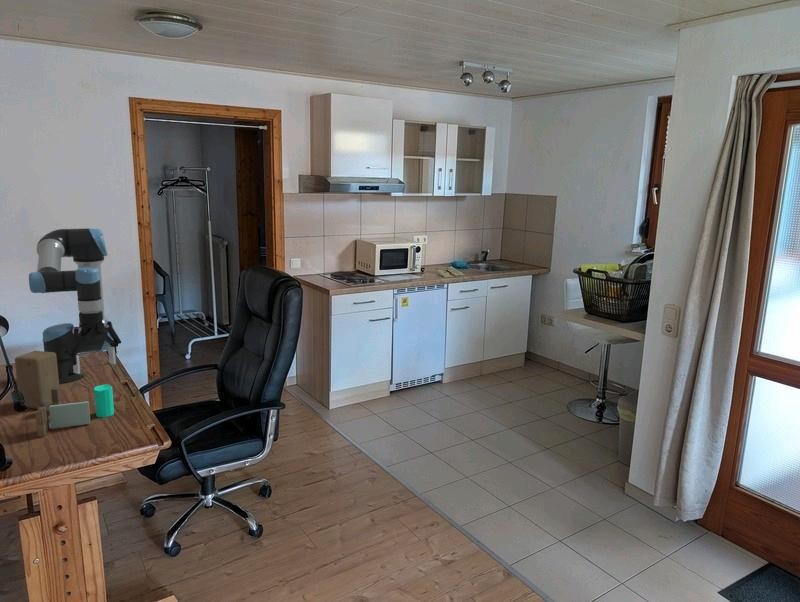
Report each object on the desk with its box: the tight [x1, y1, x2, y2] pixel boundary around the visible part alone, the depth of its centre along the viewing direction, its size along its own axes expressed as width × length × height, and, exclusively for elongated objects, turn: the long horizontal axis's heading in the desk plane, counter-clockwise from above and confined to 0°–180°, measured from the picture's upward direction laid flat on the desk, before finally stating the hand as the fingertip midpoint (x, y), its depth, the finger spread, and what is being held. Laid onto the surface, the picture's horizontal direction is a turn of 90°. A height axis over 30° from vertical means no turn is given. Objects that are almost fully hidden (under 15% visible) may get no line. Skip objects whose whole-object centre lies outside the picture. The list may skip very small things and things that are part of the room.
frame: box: [34, 385, 63, 438], centre depth 205 cm, size 25×2×10 cm, turn 18°
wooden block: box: [14, 350, 60, 410], centre depth 219 cm, size 10×10×20 cm
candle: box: [93, 383, 115, 418], centre depth 213 cm, size 6×6×12 cm
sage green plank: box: [48, 400, 91, 429], centre depth 202 cm, size 12×1×8 cm, turn 114°
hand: (95, 368), depth 209 cm, fingers open, 13 cm apart
